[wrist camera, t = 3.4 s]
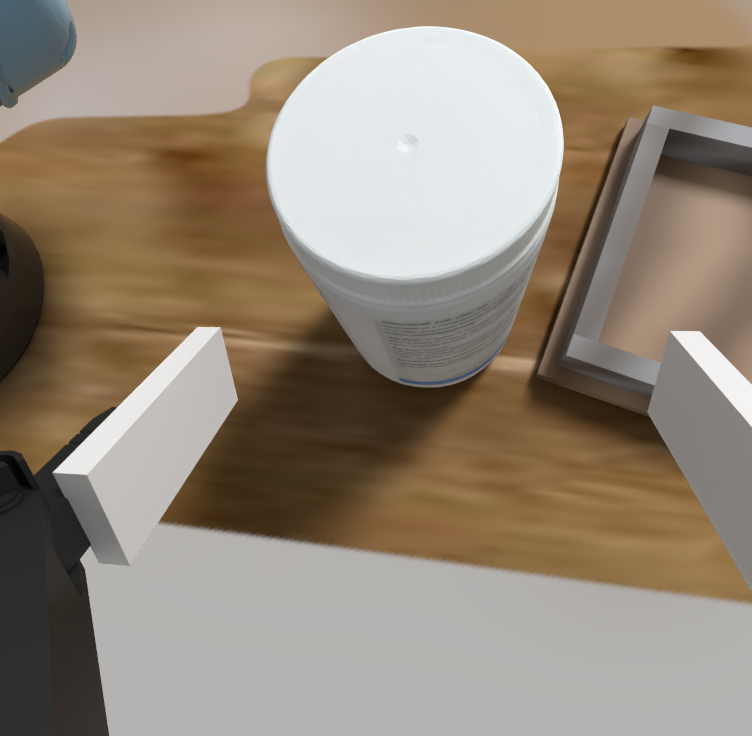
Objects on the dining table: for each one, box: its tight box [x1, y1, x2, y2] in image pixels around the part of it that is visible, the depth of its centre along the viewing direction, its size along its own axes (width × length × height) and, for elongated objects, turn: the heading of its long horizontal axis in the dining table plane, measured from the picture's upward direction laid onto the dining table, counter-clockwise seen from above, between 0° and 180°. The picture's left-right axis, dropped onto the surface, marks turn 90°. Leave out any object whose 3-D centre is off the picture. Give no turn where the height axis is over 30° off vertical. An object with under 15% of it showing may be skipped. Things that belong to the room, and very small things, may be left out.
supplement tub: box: [266, 26, 564, 388], centre depth 22 cm, size 10×10×15 cm
